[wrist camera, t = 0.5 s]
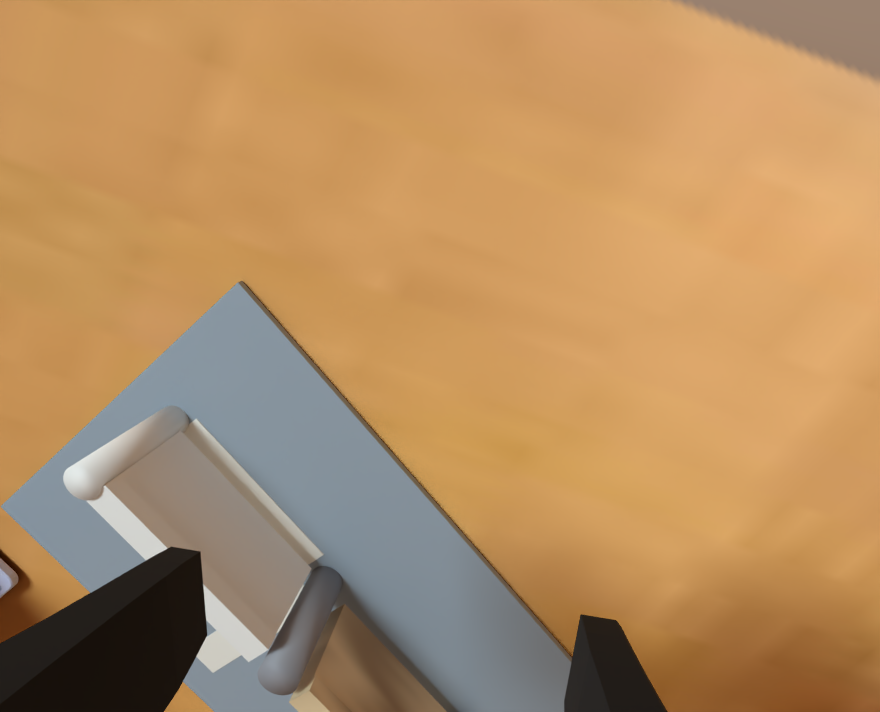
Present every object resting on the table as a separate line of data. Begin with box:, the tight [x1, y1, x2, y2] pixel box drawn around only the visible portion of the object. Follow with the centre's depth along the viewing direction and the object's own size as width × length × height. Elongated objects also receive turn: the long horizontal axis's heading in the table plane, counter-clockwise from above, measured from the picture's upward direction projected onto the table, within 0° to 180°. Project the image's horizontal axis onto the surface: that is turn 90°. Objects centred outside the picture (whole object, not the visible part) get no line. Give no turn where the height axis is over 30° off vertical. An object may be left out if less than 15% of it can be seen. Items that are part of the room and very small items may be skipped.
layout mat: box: [1, 281, 572, 712], centre depth 23 cm, size 16×23×1 cm
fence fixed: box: [63, 405, 343, 695], centre depth 20 cm, size 1×10×5 cm, turn 39°
